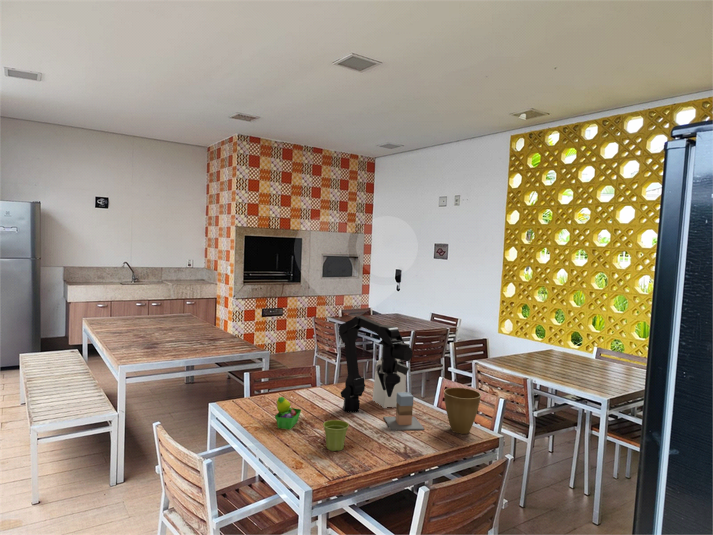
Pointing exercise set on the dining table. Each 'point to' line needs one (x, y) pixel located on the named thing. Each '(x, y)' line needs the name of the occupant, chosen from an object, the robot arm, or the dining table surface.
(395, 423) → the tower base
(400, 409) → the walnut block
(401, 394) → the slate block
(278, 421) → the fruit basket
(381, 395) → the milk
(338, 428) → the plant pot
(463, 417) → the plant pot
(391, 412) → the dining table surface
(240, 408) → the dining table surface
